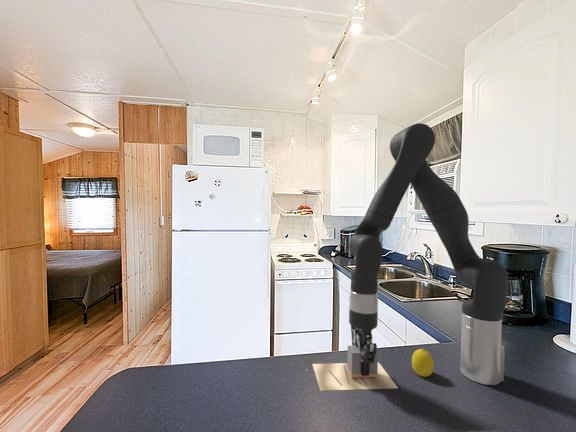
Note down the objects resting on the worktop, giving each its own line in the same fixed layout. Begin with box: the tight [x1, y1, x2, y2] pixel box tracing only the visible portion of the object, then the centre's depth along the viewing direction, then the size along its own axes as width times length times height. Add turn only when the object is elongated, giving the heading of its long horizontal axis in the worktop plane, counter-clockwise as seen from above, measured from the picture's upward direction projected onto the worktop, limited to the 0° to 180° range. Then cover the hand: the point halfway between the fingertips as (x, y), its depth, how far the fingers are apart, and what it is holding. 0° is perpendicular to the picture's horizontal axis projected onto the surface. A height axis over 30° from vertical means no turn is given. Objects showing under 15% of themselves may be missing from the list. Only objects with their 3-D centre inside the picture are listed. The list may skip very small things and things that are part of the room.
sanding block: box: [346, 345, 379, 378], centre depth 75 cm, size 7×4×6 cm, turn 95°
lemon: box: [411, 348, 435, 378], centre depth 76 cm, size 6×6×8 cm
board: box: [312, 362, 399, 392], centre depth 75 cm, size 20×12×1 cm, turn 95°
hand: (361, 369), depth 75 cm, fingers closed on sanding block, 4 cm apart
